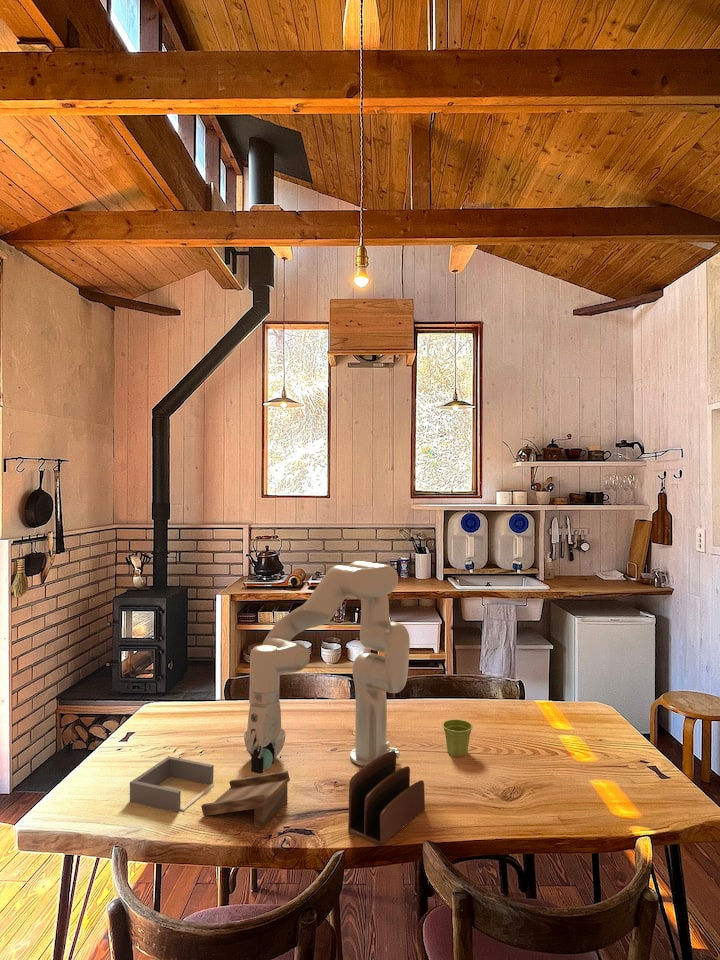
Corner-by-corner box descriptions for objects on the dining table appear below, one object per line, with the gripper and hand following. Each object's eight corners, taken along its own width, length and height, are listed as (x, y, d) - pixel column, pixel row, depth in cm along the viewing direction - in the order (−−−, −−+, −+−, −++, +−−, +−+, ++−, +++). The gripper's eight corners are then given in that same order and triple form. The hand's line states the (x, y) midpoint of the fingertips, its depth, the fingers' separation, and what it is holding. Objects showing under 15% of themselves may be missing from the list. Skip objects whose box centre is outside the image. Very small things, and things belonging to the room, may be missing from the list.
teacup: (279, 770, 177) (280, 743, 177) (238, 767, 179) (238, 740, 178) (291, 747, 192) (291, 722, 192) (252, 745, 193) (253, 720, 193)
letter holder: (347, 832, 147) (347, 774, 147) (393, 798, 163) (393, 745, 163) (381, 847, 141) (381, 786, 141) (425, 810, 157) (425, 755, 157)
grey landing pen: (216, 783, 169) (216, 765, 169) (180, 813, 154) (180, 793, 154) (168, 773, 175) (168, 756, 175) (129, 801, 160) (129, 782, 160)
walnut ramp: (290, 801, 160) (290, 771, 160) (263, 830, 147) (264, 797, 147) (231, 788, 166) (231, 759, 166) (201, 815, 153) (201, 783, 153)
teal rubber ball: (276, 766, 156) (276, 747, 156) (266, 775, 151) (267, 755, 152) (258, 763, 158) (259, 743, 158) (249, 771, 153) (249, 751, 153)
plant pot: (437, 755, 187) (437, 727, 187) (448, 743, 196) (448, 716, 196) (467, 762, 183) (467, 733, 183) (476, 750, 191) (476, 722, 191)
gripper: (260, 709, 146) (259, 785, 145) (292, 687, 162) (291, 756, 161) (233, 704, 148) (231, 779, 148) (267, 683, 164) (266, 751, 164)
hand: (262, 766), depth 155 cm, fingers closed on teal rubber ball, 4 cm apart
